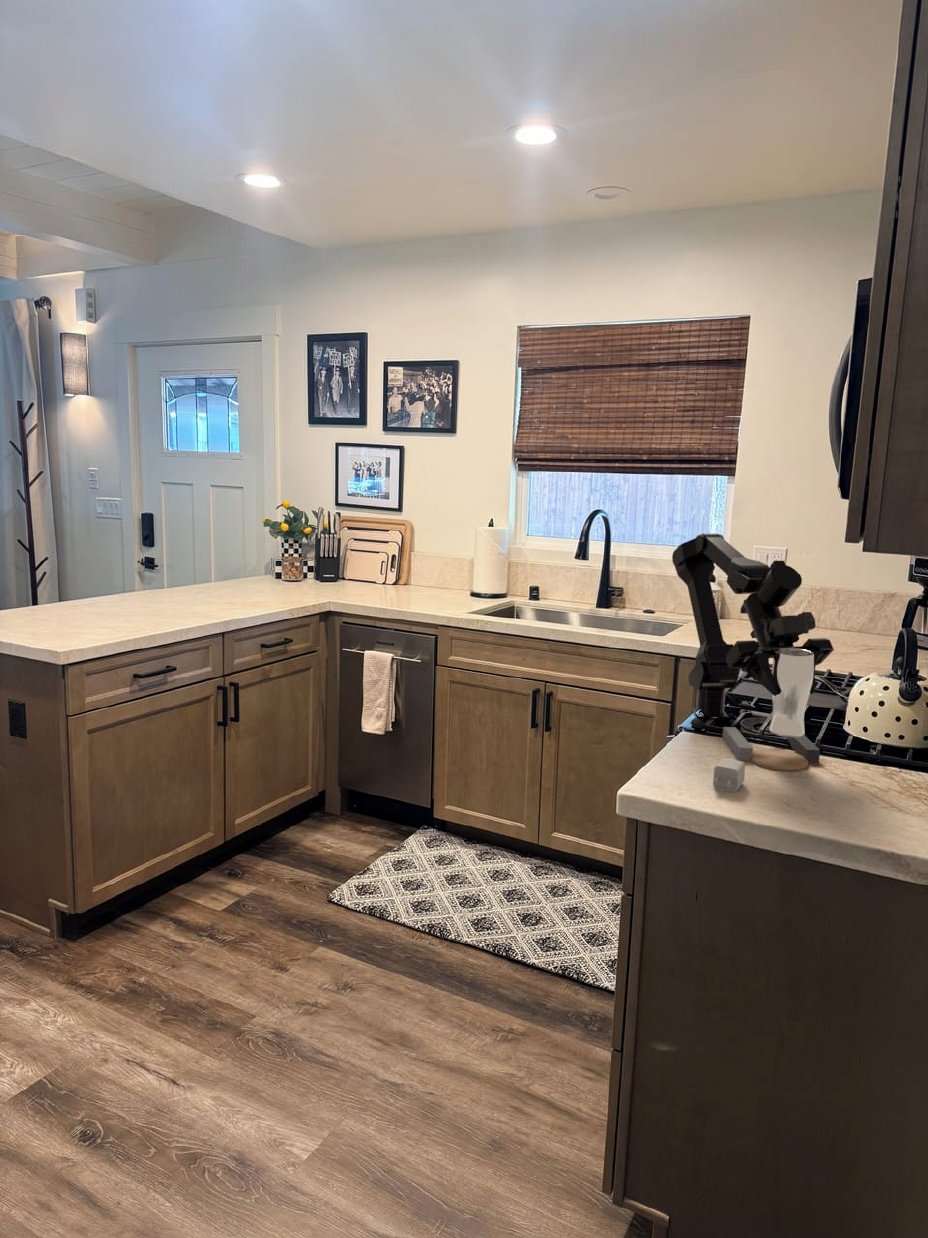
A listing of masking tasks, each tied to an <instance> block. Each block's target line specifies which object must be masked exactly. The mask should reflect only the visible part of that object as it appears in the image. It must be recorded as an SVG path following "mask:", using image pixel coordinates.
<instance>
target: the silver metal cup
mask: <svg viewBox="0 0 928 1238" xmlns="http://www.w3.org/2000/svg"><path fill="white" fill-rule="evenodd" d="M772 659H773V660H772V667H771V672H772V674H773V677H774V680H775V682H776V685H777V689H778V695H777V696H774V695H772V694H771V696H772V716H771V720H770V724H769V726H768V731H769V732H770V733H772V734H773V735H775V736H780V737H783V738H785V737H792V738H795V737H802V736H803V735H806V734H805V733H806V732H805V713H806V712H805V711H806V707H807V704H808V701H809V698H810V695H811V694H810V691H811V687H812V682H813V673H814V653H813V652H811V651H808V650H804V649H799V648H778V649H775V654H774V658H772Z"/></svg>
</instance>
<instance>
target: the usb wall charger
mask: <svg viewBox="0 0 928 1238" xmlns="http://www.w3.org/2000/svg"><path fill="white" fill-rule="evenodd" d="M745 772H746V763H745V762H744V761H743V760H738V759H737V760H735V759H731V758H725V757H724V758H722V759H721V760H720V761H719V762H718V764H716V766H714V769H713V781H712V785H713V788H715V789H719V790H723V791H727V792H733V793H735V792H737V791H738V789H740V787H741V786H742V784H744V783H745V776H746V775H745Z"/></svg>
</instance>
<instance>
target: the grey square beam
mask: <svg viewBox="0 0 928 1238" xmlns="http://www.w3.org/2000/svg"><path fill="white" fill-rule="evenodd" d="M721 739H722V740H723V741H724V743H725V744H726V746H728V748H729V749H730V751H731V752H732V753H733V754H734V755H733V756H735V758H736V759H737V761H749V762H750V761H751V757H752V754H753V751H754V747H753V746H752V745H751V744H750V742H749V741H748V740H747V739H746V737H744V736H743V734H742V733H741V732H740V730H739V729H737V727H736V726H735V727H733V726H723V727H722V737H721ZM751 762H752V761H751Z"/></svg>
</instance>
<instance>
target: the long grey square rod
mask: <svg viewBox="0 0 928 1238" xmlns="http://www.w3.org/2000/svg"><path fill="white" fill-rule="evenodd" d="M786 738H787V739H788V740H789V742H790V745H791V747H790V748H791V749H792V750H793V751H794V753H797V754H799V755H802V756H803V757H804V758H805V759H807V760H808V763H820V758H821V757H820V755H821V749H820V748H819V747H818V746H817V745H816V744H814V743H813V742H812V741H811V740H810V739H809V738H808V737H807V735H806V734H804V735H803V736H802V737H795V738H792V737H786Z"/></svg>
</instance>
